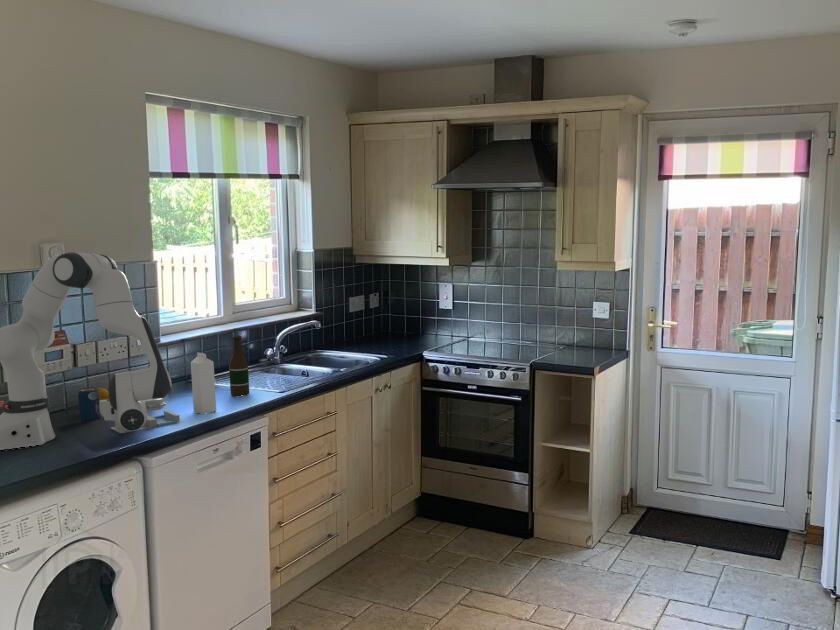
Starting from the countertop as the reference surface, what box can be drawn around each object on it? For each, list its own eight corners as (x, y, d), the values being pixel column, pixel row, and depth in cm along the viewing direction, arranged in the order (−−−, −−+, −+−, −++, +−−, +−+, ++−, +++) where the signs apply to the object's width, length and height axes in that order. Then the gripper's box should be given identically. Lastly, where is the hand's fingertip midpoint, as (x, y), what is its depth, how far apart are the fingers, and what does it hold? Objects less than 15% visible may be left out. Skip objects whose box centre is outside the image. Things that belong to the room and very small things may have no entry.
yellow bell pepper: (116, 409, 302) (114, 386, 301) (98, 414, 294) (96, 391, 293) (100, 407, 306) (99, 384, 305) (82, 412, 298) (80, 389, 297)
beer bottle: (236, 397, 316) (232, 337, 313) (226, 394, 322) (223, 336, 319) (253, 394, 321) (250, 335, 318) (243, 391, 327) (240, 333, 324)
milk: (207, 409, 298) (204, 351, 296) (216, 411, 294) (213, 352, 292) (193, 412, 294) (189, 353, 291) (202, 414, 290) (198, 355, 287)
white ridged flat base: (122, 438, 261) (121, 426, 261) (109, 431, 270) (108, 420, 269) (185, 425, 275) (185, 414, 275) (172, 419, 284) (171, 408, 283)
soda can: (102, 422, 282) (100, 389, 281) (81, 425, 279) (79, 392, 277) (99, 418, 288) (96, 386, 287) (78, 421, 285) (75, 388, 283)
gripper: (165, 396, 259) (163, 387, 272) (97, 401, 253) (99, 392, 265) (166, 414, 260) (164, 405, 273) (99, 421, 253) (100, 411, 266)
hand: (132, 399), depth 269 cm, fingers closed on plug, 4 cm apart
